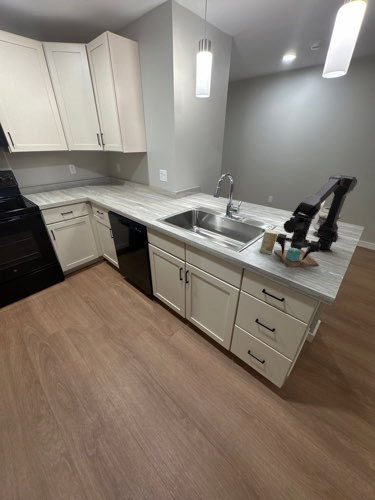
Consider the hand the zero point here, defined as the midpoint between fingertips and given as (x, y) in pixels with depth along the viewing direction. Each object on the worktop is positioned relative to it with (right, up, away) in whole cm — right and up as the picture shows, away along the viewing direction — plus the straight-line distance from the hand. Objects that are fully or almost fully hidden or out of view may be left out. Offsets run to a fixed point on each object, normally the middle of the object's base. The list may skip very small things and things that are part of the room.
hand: (292, 257), depth 100 cm
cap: (0, 0, 0) cm, 0 cm away
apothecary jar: (+34, +13, +29) cm, 46 cm away
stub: (0, -1, +1) cm, 1 cm away
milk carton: (+40, +24, +48) cm, 67 cm away
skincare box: (-10, +3, +9) cm, 14 cm away
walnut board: (+3, -1, +3) cm, 4 cm away
